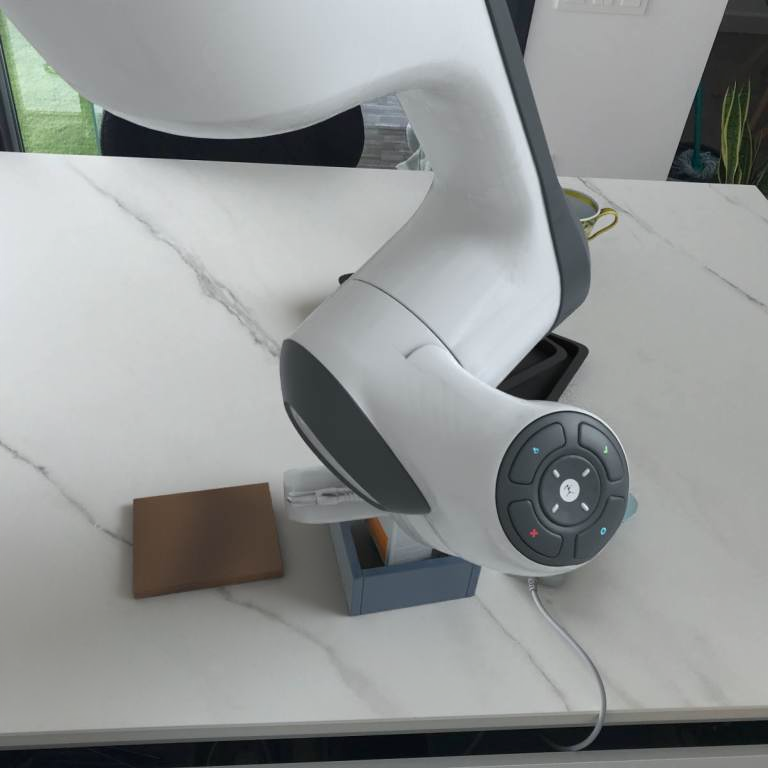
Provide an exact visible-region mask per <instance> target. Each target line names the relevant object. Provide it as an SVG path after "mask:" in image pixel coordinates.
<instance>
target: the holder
mask: <svg viewBox="0 0 768 768" xmlns="http://www.w3.org/2000/svg"><path fill="white" fill-rule="evenodd" d="M327 524H328V528H329V533H330V536H331V540H332V544H333V548H334V553H335V557H336V561H337V566H338V571H339V573H340V579H341V581H342V587H343V591H344V595H345V599H346V603H347V609H348V612H349V615H350V617H357V616H360V615H362V616H363V615H367V614H374V613H379V612H385V611H392V610H398V609H399V610H400V609H404V608H411V607H415V606H416V607H417V606H422V605H428V604H434V603H441V602H446V601H452V600H458V599H463V598H464V599H465V598H470V597H471V598H472V597H474V596H475V594H476V592H477V587H478V583H479V579H480V574H481V571H482V568H483V567H482V566H479V565H476V564H473V563H471V562H469V561H466V560H464V559H463V558H461V557H456V556H452V555H449V556H443V557H436V558H429V559H425V560H422V561H416V562H409V563H403V564H396V565H390V566H385V565H383V566H378V567H372V568H371V567H370V568H365V569H362V567H361V562H360V558H359V555H358V551H357V547H356V544H355V540H354V536H353V533H352V529H351V525H350V521H344V522H336V523H327Z"/></svg>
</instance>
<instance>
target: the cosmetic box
mask: <svg viewBox="0 0 768 768" xmlns="http://www.w3.org/2000/svg"><path fill="white" fill-rule="evenodd" d="M363 522H364V523H365V525H366V527H367V530H368V531H369V533H370V536H371V537H372V540H373V543H374V544H375V547H376V549H377V551H378V554H379V555H380V559H381V560H382V564H383V566H390V565H396V564H403V563H409V562H416V561H423V560H429V559H432V554H433V550H434V549H433V548H430V547H428V546H425V545H423V544H421V543H419V542H417V541H415V540H414V539H412V538H410V537H409V536H408V535H407V534H406V533H405V532H404V531H403V530H402V529H401V528H400V527H399V526H398V525H397V523H396V522H395V521H394V519H393V517H392V516H391V515H390V516H383V517H375V518H367V519H363Z"/></svg>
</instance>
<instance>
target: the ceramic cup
mask: <svg viewBox="0 0 768 768" xmlns="http://www.w3.org/2000/svg"><path fill="white" fill-rule="evenodd" d="M561 187H562V189H563V191H564V193H565V194H566V196H567V198H568V199H569V201H570V203H571V204H572V206H573V208H574V209H575V211H576V213H577V215H578V217H579V219H580V221H581V223H582V226H583V228H584V231H585V234H586V237H587V240H588V243H590V242H591V241H593V240H595V239H596V238H597V237H599V236H600V235H602V234H603V233H606V232H608V231H609V230H612V229H613V228H614V227H615V226H616V225H617V224H618V221H619V214H618V212H617V211H616V209H613V208H611V207H602V208H601V205H600V202H599V201H598V200H597V199H596V198H594V196H591V194H588V193H587V192H584V191H582V190H580V189H577V188H575V187H574V188H573V187H568V186H564V185H561ZM606 215H614V220H613V222H612V223H610V224H609V225H607V226H605V227H604V228H602V229H600V230H597V231H596V232H595V233H594V234H592V235H591V233H592V231H593V229H594V227H595V225H596V223H597V222H598V220H599V219H600V218H602V217H604V216H606ZM590 235H591V236H590Z"/></svg>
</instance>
